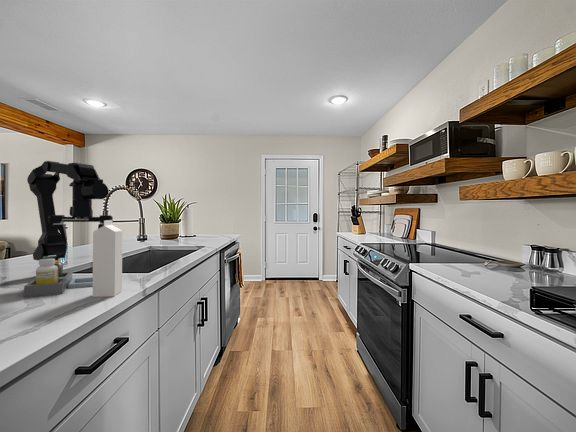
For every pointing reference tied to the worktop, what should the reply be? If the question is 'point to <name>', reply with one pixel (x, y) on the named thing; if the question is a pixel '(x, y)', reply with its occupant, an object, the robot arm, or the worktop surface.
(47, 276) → the supplement bottle
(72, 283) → the tray frame
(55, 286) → the shallow grey tray
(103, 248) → the milk
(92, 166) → the robot arm
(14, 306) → the worktop surface
